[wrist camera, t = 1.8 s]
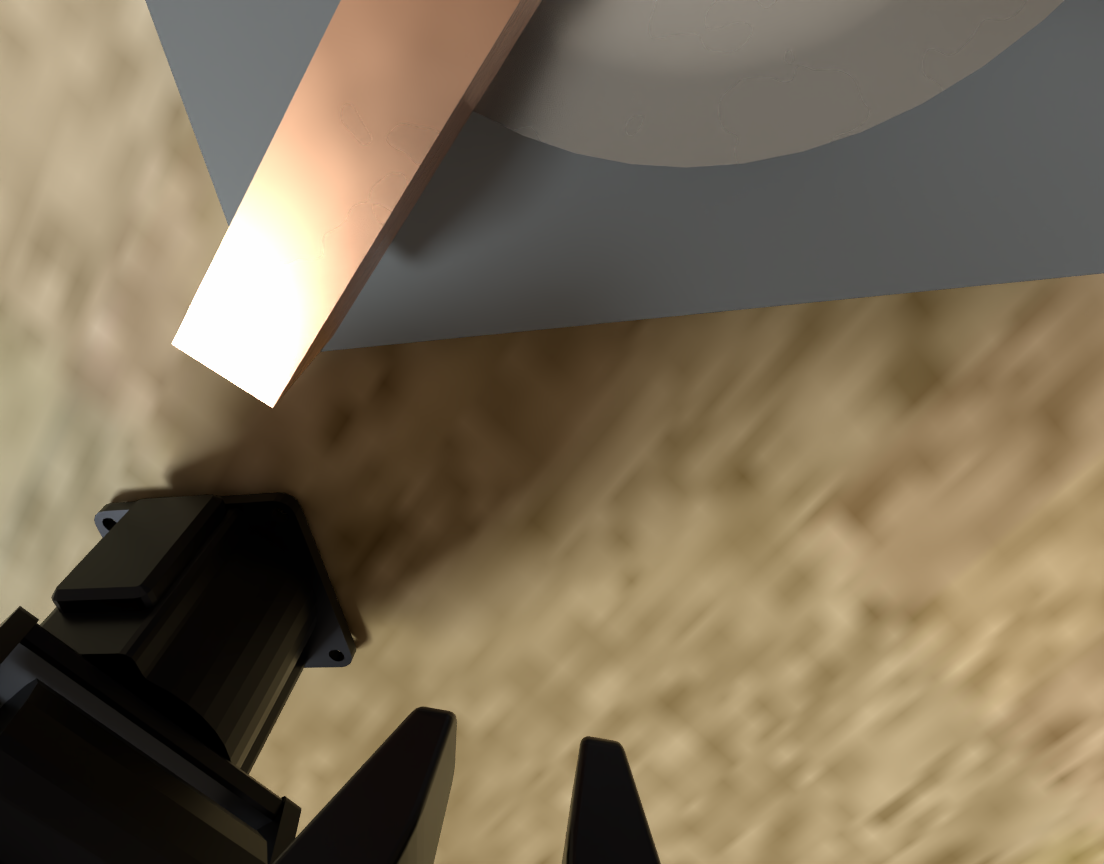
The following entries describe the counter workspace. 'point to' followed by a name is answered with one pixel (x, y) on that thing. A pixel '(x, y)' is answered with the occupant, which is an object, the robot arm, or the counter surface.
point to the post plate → (688, 192)
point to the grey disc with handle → (545, 124)
